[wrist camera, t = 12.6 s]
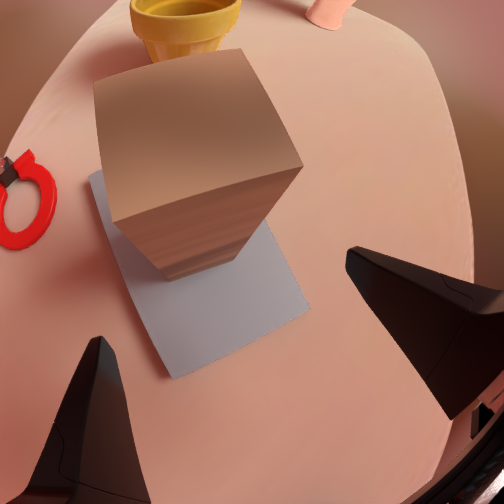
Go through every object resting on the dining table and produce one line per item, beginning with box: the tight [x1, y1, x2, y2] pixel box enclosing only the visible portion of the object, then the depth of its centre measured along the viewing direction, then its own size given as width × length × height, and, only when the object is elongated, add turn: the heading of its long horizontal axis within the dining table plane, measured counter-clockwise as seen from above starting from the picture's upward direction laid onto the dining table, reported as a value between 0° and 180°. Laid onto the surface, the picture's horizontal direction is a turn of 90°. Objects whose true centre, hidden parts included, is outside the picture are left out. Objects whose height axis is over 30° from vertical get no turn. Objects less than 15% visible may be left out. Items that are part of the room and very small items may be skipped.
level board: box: [88, 169, 310, 380], centre depth 22 cm, size 18×12×1 cm, turn 27°
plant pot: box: [130, 0, 242, 63], centre depth 21 cm, size 10×10×10 cm
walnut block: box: [93, 48, 304, 282], centre depth 14 cm, size 5×5×15 cm
